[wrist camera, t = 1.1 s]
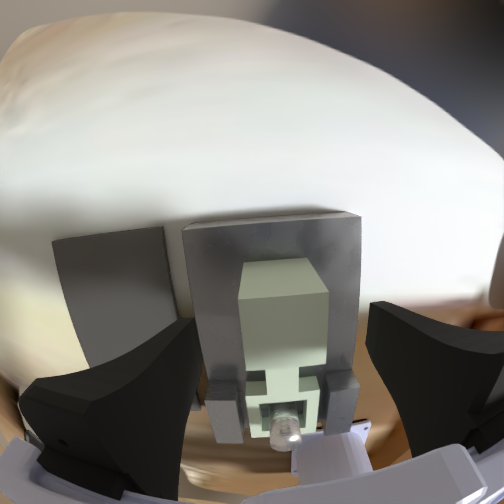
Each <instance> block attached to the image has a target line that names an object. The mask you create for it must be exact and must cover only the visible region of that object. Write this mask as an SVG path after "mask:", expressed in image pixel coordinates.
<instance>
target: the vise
mask: <svg viewBox="0 0 504 504" xmlns="http://www.w3.org/2000/svg"><path fill="white" fill-rule="evenodd" d="M182 237H183V245H184V252H185V259H186V266H187V272H188V278H189V285H190V291H191V297H192V302H193V308H194V314H195V319H196V324H197V329H198V334H199V340H200V344H201V349H202V354H203V359H204V363H205V368H206V372H207V377H208V381H209V382H208V386H207V391H206V395H205V399H204V402H205V405H206V409H207V412H208V416H209V419H210V423H211V426H212V429H213V432H214V436H215V439H216V442H217V443H228V444H240V443H244V428H250V424H249V417H248V411H247V404H246V397H245V393H246V382H251V381H266V372H265V370H256V371H246V365H245V357H244V348H243V340H242V332H241V323H240V315H239V306H238V295H239V289H240V282H241V276H242V270H243V264H244V262H256V261H269V260H282V259H294V258H308V260H309V262H310V263H311V265H312V266H313V268H314V269H315V271H316V272H317V274H318V275H319V277H320V279H321V280H322V282H323V283H324V285H325V286H326V288H327V289H328V291H329V311H328V335H327V353H326V364H320V365H312V366H304V367H299V378H302V377H310V376H316V377H317V381H318V385H319V388H320V395H319V406H318V415H317V422H321V424H322V429H323V433H324V436H330V435H336V434H341V433H347V432H350V429H351V426H352V422H353V417H354V413H355V409H356V404H357V400H358V395H359V390H360V386H359V384H358V381H357V379H356V377H355V375H354V373H353V371H352V365H353V358H354V350H355V341H356V332H357V322H358V310H359V296H360V277H361V216H358V215H355V214H352V213H349V212H334V213H316V214H299V215H285V216H271V217H257V218H245V219H233V220H222V221H211V222H201V223H192V224H190V225H188V226H187V227H185V228H184V229H182ZM303 406H304V400H299V401H289V402H278V403H263V404H260V407H261V417H269V430H270V446H271V448H272V449H274V450H276V451H291V450H294V449H296V448H298V447H299V446H300V445H301V444H302V438H301V432H300V425H299V419H298V414H303Z"/></svg>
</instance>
